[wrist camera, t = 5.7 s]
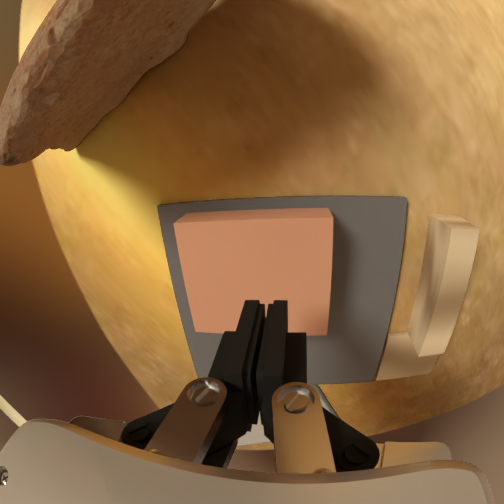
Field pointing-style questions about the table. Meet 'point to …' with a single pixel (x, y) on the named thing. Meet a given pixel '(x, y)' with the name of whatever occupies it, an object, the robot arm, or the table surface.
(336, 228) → the mat
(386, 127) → the table surface
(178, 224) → the tile
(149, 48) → the stone
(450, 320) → the turner
